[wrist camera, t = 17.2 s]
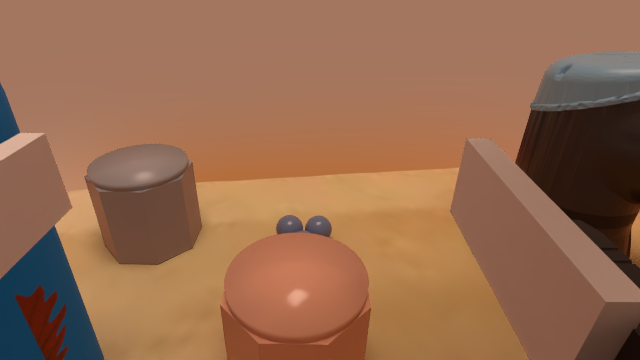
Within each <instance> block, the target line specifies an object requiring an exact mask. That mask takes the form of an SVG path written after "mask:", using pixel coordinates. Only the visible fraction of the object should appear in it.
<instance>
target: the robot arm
mask: <svg viewBox="0 0 640 360" xmlns="http://www.w3.org/2000/svg"><path fill="white" fill-rule="evenodd" d="M530 107H531V113H530V116H529V119H528V123H527V126H526V129H525V133H524V136H523V139H522V142H521V146H520V149H519V152H518V156H517V159H516V163H514V162H513V161H512V160H511V159H510V158H509V157H508V156H507V155H506V154H505V153H504V152H503V151H502V150H501V149H500V148H499V147H498V146H497V145H496V143H495V142H494V141H492V139H481V138H480V139H477V138H473V139H472V138H467V139H466V143H465V147H464V152H463V156H462V161H461V165H460V169H459V174H458V178H457V183H456V187H455V192H454V196H453V201H452V205H451V210H450V212H451V213H452V215H453V217H454V219H455V221H456V223H457V225H458V227H459V228H460V230H461V232H462V234H463V236H464V238H465V240H466V241H467V243H468V245H469V247H470V249H471V251H472V253H473V254H474V256H475V258H476V260H477V262H478V264H479V266H480V267H481V269H482V271H483V273H484V275H485V277H486V279H487V281H488V282H489V284H490V286H491V288H492V290H493V292H494V294H495V295H496V297H497V299H498V301H499V303H500V305H501V307H502V308H503V310H504V312H505V314H506V316H507V318H508V320H509V322H510V323H511V325H512V327H513V329H514V331H515V333H516V335H517V336H518V338H519V340H520V342H521V344H522V346H523V348H524V349H525V351H526V353H527V355H528V357H529V359H530V360H640V268H639V267H638V266H637V265H636V264H632V261H631V260H630V259H629V257H630V248H631V227H632V224H633V222H634V220H635V218H636V216H637V214H638V212H639V210H640V52H602V53H588V54H579V55H573V56H569V57H565V58H562V59H560V60H558V61H556V62H554V63H553V64H552V65H550V67H549V68H548V69H547V70H546V72H545V74H544V76H543V78H542V81H541V84H540V86H539V89H538V92H537V94H536V97H535V99H534V100H533V102H532V103H531V106H530ZM71 208H72V205H71V203H70V200H69V197H68V194H67V192H66V189H65V186H64V184H63V181H62V178H61V176H60V173H59V170H58V167H57V165H56V162H55V159H54V157H53V154H52V151H51V148H50V146H49V143H48V140H47V138H46V135H45V133H19V134H17V135H16V136H14V137H12V138H10V139H8V140H7V141H5V142H3V143H1V144H0V279H1V278H2V277H3V276H4V275H5V274H6V273H7V272H8V271H9V270H10V269H11V268H12V267H13V266H14V265H15V264H16V263H17V262H18V261H19V260H20V259H21V258H22V257H23V256H24V255H25V254H26V253H27V252H28V251H29V250H30V249H31V248H32V247H33V246H34V245H35V244H36V243H37V242H38V241H39V240H40V239H41V238H42V237H43V236H44V235H45V234H46V233H47V232H48V231H49V230H50V229H51V228H52V227H53V226H54V225H55V224H56V223H57V222H58V221H59V220H60V219H61V218H62V217H63V216H64V215H65V214H66V213H67V212H68V211H69V210H70V209H71Z"/></svg>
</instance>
